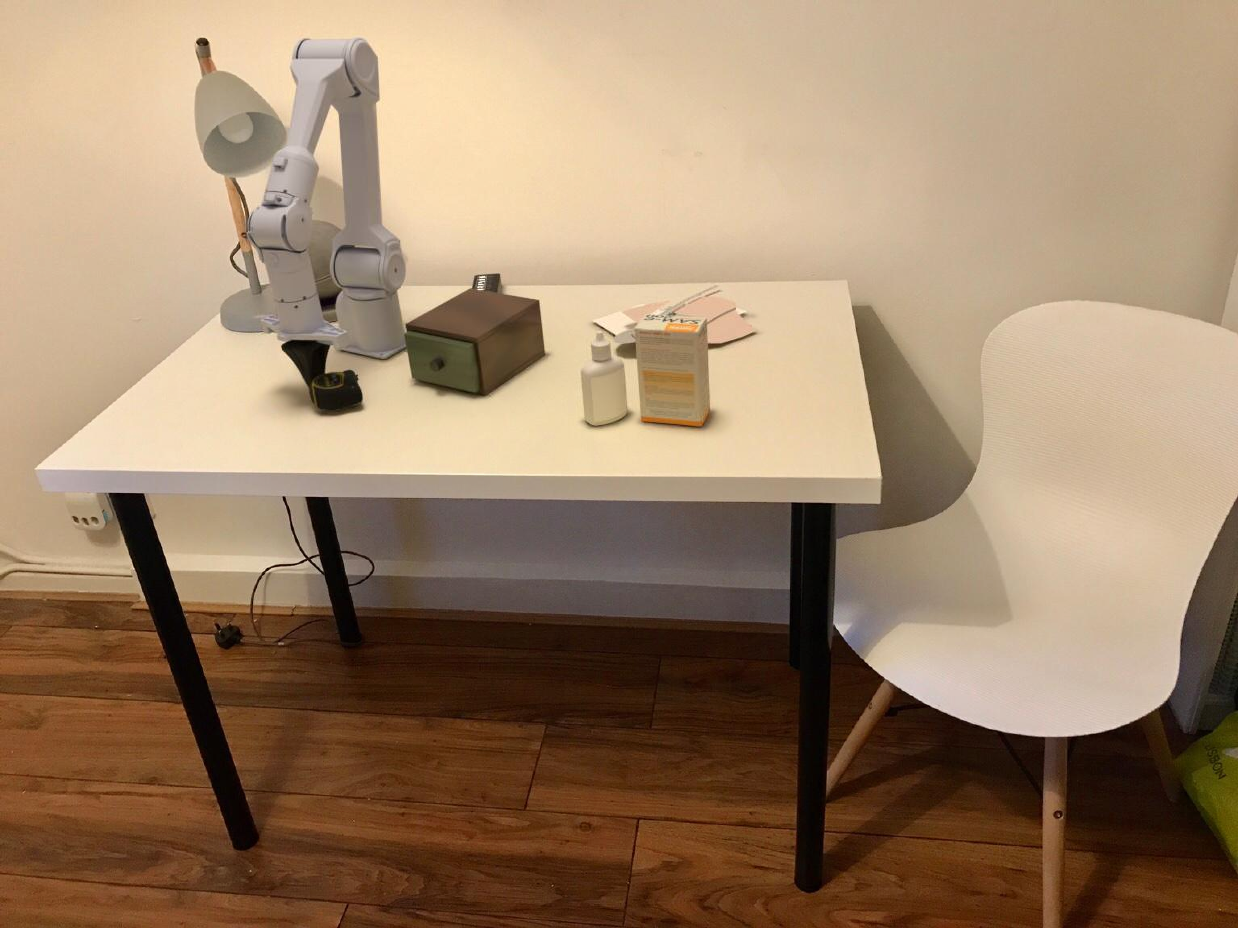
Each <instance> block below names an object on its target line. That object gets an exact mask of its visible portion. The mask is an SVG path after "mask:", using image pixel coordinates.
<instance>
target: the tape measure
mask: <svg viewBox="0 0 1238 928" xmlns="http://www.w3.org/2000/svg"><path fill="white" fill-rule="evenodd" d="M308 391H309V397H310V401H311V402H312V404H313V405H314V406H315V407H316V408H317V409H319V410H323V411H341V410H343V409H346V408H350V407H352V406H356V405H358V404H361V403H362V402H363V400H364V396H363V391H362V388H361V387H360V384H359V374H356V373H355V371H354V370H353V369H347V370H344V371H330V372H325V374H322V375H320V376H318V377H316V378H314V379H313V380H312V381H311V383H310V387H309V388H308Z"/></svg>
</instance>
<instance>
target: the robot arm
mask: <svg viewBox="0 0 1238 928" xmlns="http://www.w3.org/2000/svg"><path fill="white" fill-rule="evenodd" d="M291 60H292V61H291V63H290V65H289V68H290V72H291V76H292V79H293V82H294V84H295V85H296V87H295V93H294V100H293V104H292V105H293V106H292V111H291V116H290V122H289V127H288V128H289V129H288V135H287V139H286V146H285V147H284V148H281V149H279V150H277V151H276V152H275V153H274V155H273V159H272V163H271V167H270V171H269V174H268V178H267V182H266V186H265V190H264V194H263V197H262V201H261V203H260V205H258V206H257V207H256V208H254V209H253V210H252V211H251V213H250V214H249V216H248V220H247V232H246V238H247V239H248V242H249V244H251V246H252V247H253V248H254V249H255V250H256V252H257V255H258V258H259V261H261V263H262V264H264V266H265V270H266V273H267V277H268V282H269V288H270V290H271V294H272V298H273V302H274V306H275V310H276V314H277V315H268V316H266V317H264V318H262V319H260V325H261V328H262V333H263V334H266V335H267V334H268V335H269V334H271V333H274V334H276V338H277V341H281V342H283V343H282V344H281V345H280V347H281V351H282V352H283V353H284V354H286V356H287V357H288V358H289V359H290V360H291V362H292V363H293V364H294V366H295V367H296V368H297V371H299V373H300V375H301V377H302V379H303V380H304V382H305V384H306V386H307V388H308V389H309V387H310V383H311V381H312V380H313V379H314V378H316V377H318V376H320V375H322V374H325V373H326V366H327V359H328V355H329V351H330V348H331V346H333V348H334V349H335V350H337V351H338V350H341V351H344V352H349V353H353V354H358V355H362V356H367V357H372V358H375V359H381V360H386V359H389V358H390V357H392V356H393V355H395V354H397V353H398V352H401V351H402V350H403V349H405V348H407V347H406V342H405V337H404V334H405V333H406V332H405V331H406V330H405V326H404V325H405V324H404V320H403V314H402V308H401V304H400V299H399V292H398V290H400V289H401V288H402V285H403V284H404V281H405V279H406V274H407V273H406V272H407V267H406V262H405V259H404V256H403V252H402V245H401V239H400V238H398V237H397V235H395V234H394V233H392V232H391V231H390V230H389V229H388V228H386V227H385V226H384V225H383V211H382V193H381V192H382V191H381V171H380V151H379V133H378V131H379V130H378V112H377V110H378V109H377V103H378V102H380V100H381V96H380V93H381V92H380V74H379V72H380V71H379V56H377V53H376V52H375V51H374V49H373V48H372V46H371V45H370V43H369V42H368V41H367V40H366V39H365V38H363V37H352V38H319V39H318V38H315V39H314V38H313V39H311V38H308V37H303V38H301V39H299V40H298V41H297V42H296V43H295V45H294V47H293V50H292V56H291ZM331 106H332V107H333V108H334V109H335V111H336V112H337V114H338V126H339V127H338V129H339V143H340V159H341V176H342V191H343V193H342V195H343V206H344V208H343V209H344V224H345V225H344V228H342V229H341V231H340V232H339V233H338V234H337V235H336V236H335V237H334V238H333V240H332V243H333V250H332V257H331V260H330V273H331V276H332V279H333V281H334V283H335V284H336V285H337V286H338V287H340V288H342V291H341V292H340V294H339V295H338V297H337V301H336V314H337V319H338V320H337V323H338V327H337V326H335V324H333V323H331V322H327V321H326V320H324V319H323V315H322V310H321V306H320V301H319V296H318V292H317V288H316V283H315V279H314V274H313V270H312V265H311V261H310V256H309V252H308V246H309V244H310V242H311V239H312V237H313V232H314V228H313V221H312V220H313V214H314V213H313V207H311V203H312V198H313V196H314V195H313V194H314V190H315V188H316V183H317V180H318V175H319V171H320V167H319V164H318V162H317V159H316V158H315V156H314V155H315V151H316V148H317V146H318V143H319V140H320V137H321V134H322V132H323V130H324V126H325V123H326V120H327V118H328V115H329V112H330V109H331Z"/></svg>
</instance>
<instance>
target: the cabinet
mask: <svg viewBox="0 0 1238 928" xmlns="http://www.w3.org/2000/svg"><path fill="white" fill-rule="evenodd" d="M541 313H542V311H541V303H540V299H537V298H536V299H535V298H531V297H530V298H529V297H524V296H517V295H512V294H506V293H502V292H501V293H495V292H489V291H483V290H477V289H472V287H471V288H468V289H466V290H464V291H463V292H461V293H458V294H457V295H455V296H454V297H452V298H449V299H448V300H446V301H444V302H443V303H441V304H439V305H437V306H435V307H433V308H432V309H429V310H428V311H426V312H424V313H423V314H421V315H419V316H417V317H415V318H414V319H411V320H410V321H408V322H407V323H405V324H404V325H405V329H406V333H407V332H408V331H413V332H418V333H420V332H423V333H428V334H433V335H438V336H443V337H448V338H453V339H458V340H463V341H468V342H473V343H474V346H475V353H476V360H477V366H478V373H479V380H480V387H481V389H480V390H479V391H477V392H471V391H466V390H462V389H458V388H453V387H449V386H444V385H440V384H436V383H431V382H427V381H422V380H418V379H415V380H416V381H419V382H420V381H421V382H423V383H428V384H433V385H437V386H442V387H446V388H450V389H454V390H459V391H464V392H468V393H473V394H476V395H480V396H487V395H488V394H490V393H491V392H493V391H494V390H496V389H497V388H499V387H500V386H501V385H504V383H506V382H508V381H509V380H511V379H513V378H514V377H515V376H516V375H518V374H520V373H521V372H522V371H524V370H525V369H527V368H528V367H529V366H531V365H533V363H536V362H537V361H539V360H540V359H541V358H543V357H544V356H546V349H545V338H544V330H543V322H542V314H541Z"/></svg>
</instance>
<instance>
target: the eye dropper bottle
mask: <svg viewBox="0 0 1238 928" xmlns="http://www.w3.org/2000/svg"><path fill="white" fill-rule="evenodd" d="M590 350H591V359H589V360H588V361H587V362H586V363H585V364H584V365H583V366H582V367H581V370H580V381H581V382H580V383H581V393H582V404H583V405H582V406H583V415H584V420H585V421H586V422H587V423H589V424H590V425H591V426H594V427H595V426H604V425H608V424H611V423H614V422H617V421H619V420H620V419H622V418H624V417H625V416H626V415H627V414H628V397H627V386H626V385H627V384H626V383H627V381H626V371H625V363H624V361H623V360H622V359H621V358H620V357H618V356H616V355H612V348H611V341H610V340H609V339H607V338H605V335H604V332H603V331H602V330H598V331H597V332H596V336H595V339H594V340H592V341H591V342H590Z"/></svg>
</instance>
